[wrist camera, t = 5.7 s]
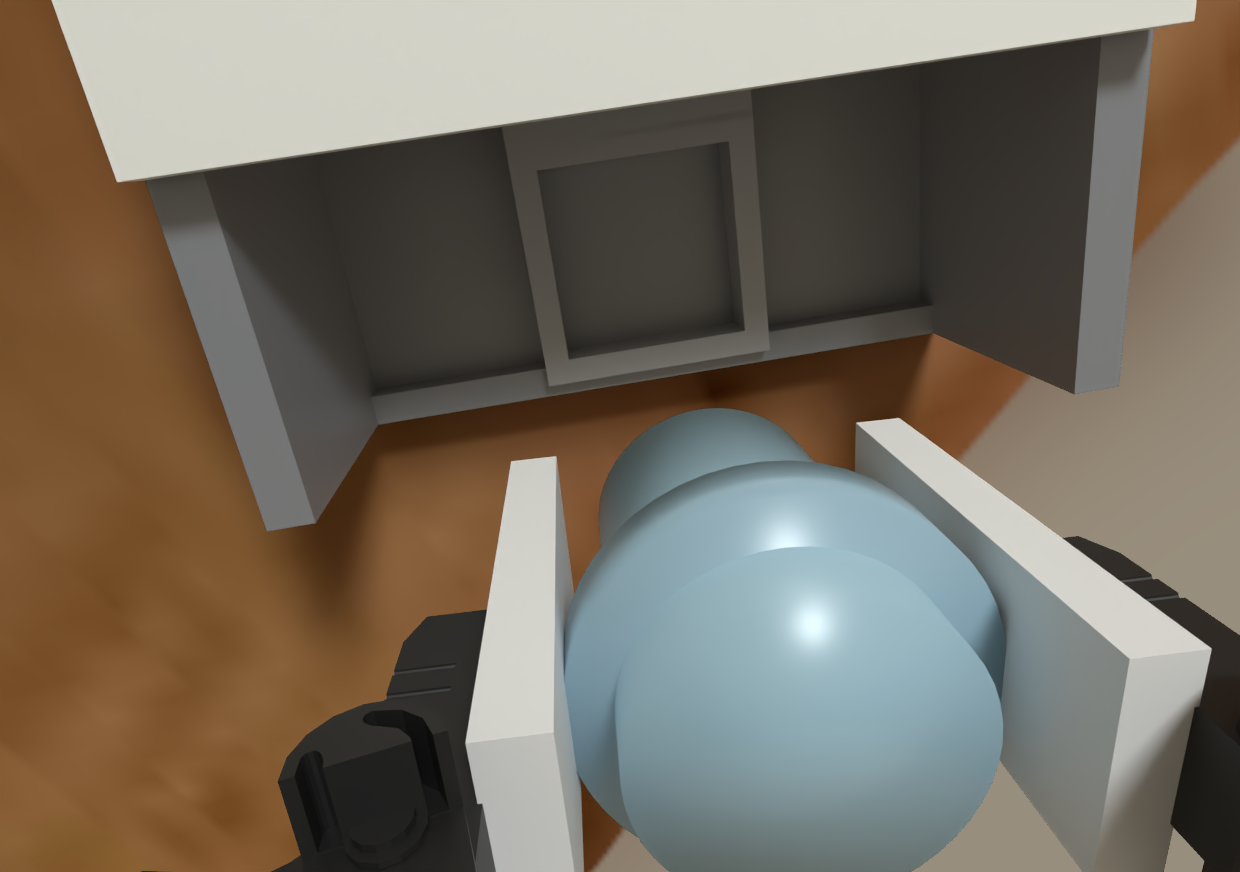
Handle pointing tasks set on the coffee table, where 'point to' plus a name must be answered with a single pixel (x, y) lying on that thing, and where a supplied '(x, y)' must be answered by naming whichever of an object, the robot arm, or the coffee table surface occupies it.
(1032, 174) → the housing
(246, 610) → the coffee table surface
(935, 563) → the peg
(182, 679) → the coffee table surface
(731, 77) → the lid
